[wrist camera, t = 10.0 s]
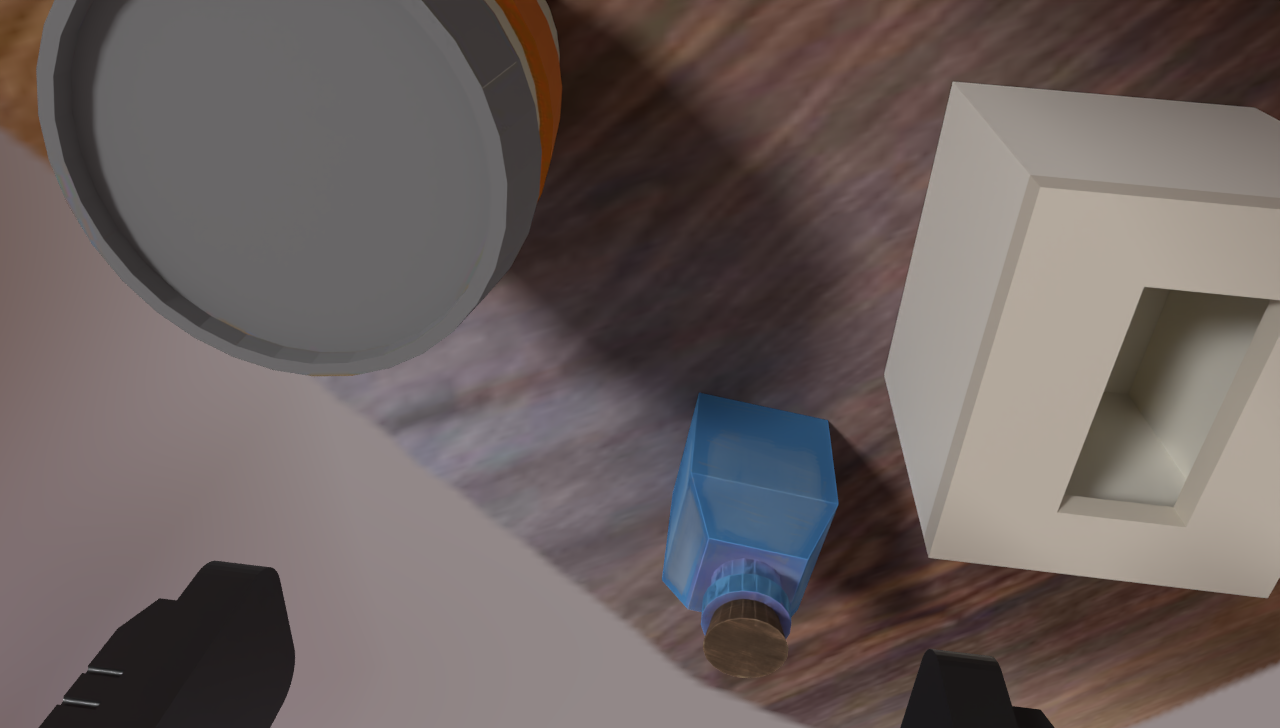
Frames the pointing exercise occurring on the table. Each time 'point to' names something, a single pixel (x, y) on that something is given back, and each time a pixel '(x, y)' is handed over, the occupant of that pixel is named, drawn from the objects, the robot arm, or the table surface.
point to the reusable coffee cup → (304, 162)
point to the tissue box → (1097, 340)
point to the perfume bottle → (748, 527)
